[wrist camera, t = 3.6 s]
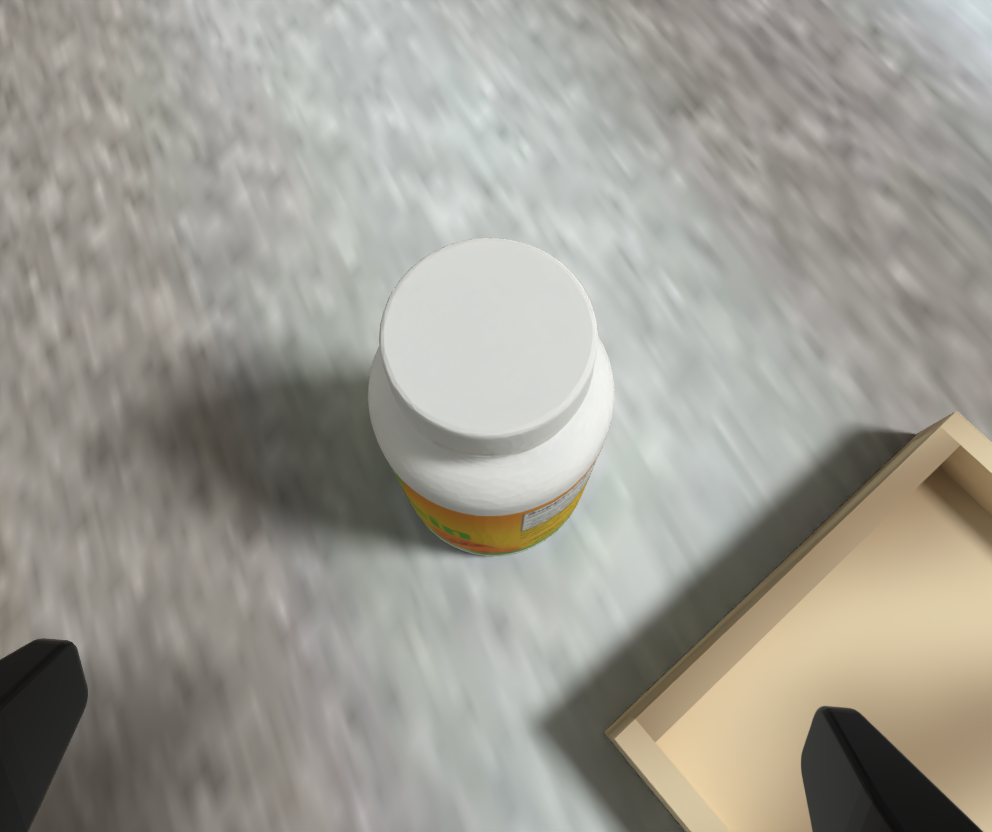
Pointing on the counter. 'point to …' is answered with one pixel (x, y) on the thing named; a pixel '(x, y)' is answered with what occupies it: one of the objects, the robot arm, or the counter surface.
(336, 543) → the counter surface
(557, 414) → the supplement bottle
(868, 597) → the tray
